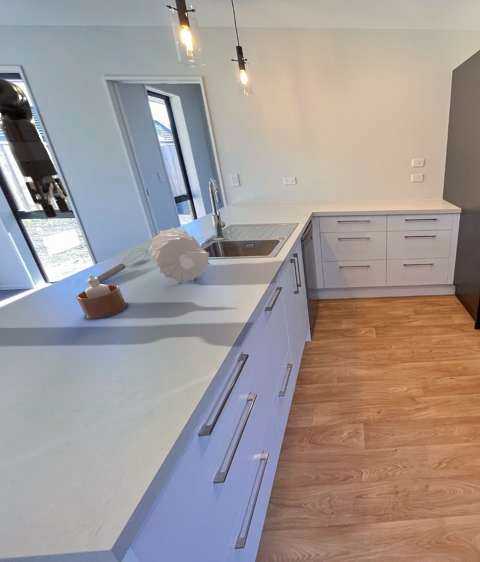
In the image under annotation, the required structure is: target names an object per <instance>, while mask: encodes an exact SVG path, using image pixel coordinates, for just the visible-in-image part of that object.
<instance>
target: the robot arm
mask: <svg viewBox="0 0 480 562" xmlns="http://www.w3.org/2000/svg"><path fill="white" fill-rule="evenodd" d="M0 129H1V131H2V133H3V136H4V137H5V140H6V141H7V144H8V147H9V150H10V152H11V155H12V157H13V159H14V161H15V164H16V165H17V167H18V169H19V171H20V173H21V176H23V177H24V178H30V179H31V181H26V182H25V186H26V188H27V190H28V192H29V195H30V197H31V199H32V201H33V203H34V204H35V205H39V206H41V208H42V211H43V213H44V214H45V217H46V218H57V216H58V214H57V212H56V209H55V208H54V205H53V204H52V198H53V199H54V200H55V203H56V205H57V208H58V210H59V212H60V213H69V212H70V208H69V205H68V203H67V201H66V200H67V197H68V193H67V192H66V189H65V187H64V184H63V182H62V181H61V178H59V177H53V176H58V175H59V172H58V170H57V168H56V165H55V163H54V160H53V159H52V158H53V157H52V156H51V154H50V152H49V149H48V148H47V146H46V144H45V142H44V141H43V138H42V136H41V133H40V131H39V129H38V127H37V125H36V123H35V119H34V114H33V111H32V107H31V105H30V101H29V99H28V97H27V95H26V93H25V92H24V91H23V90H22V88H21V87H19V85H17V84H16V83H14V82H12V81H9V80H7V79H5V78H2V77H0Z"/></svg>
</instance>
